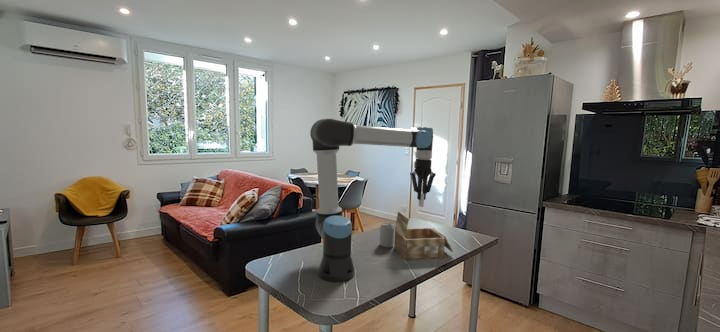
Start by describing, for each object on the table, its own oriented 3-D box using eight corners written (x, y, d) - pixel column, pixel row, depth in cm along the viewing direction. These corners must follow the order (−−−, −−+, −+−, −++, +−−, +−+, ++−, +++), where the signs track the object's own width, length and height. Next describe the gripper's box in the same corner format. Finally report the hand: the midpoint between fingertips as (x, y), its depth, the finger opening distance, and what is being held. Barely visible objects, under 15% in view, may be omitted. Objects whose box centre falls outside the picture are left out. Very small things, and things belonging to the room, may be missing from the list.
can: (392, 248, 166) (393, 226, 164) (378, 247, 167) (379, 224, 166) (394, 244, 173) (395, 222, 172) (380, 242, 174) (381, 221, 173)
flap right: (453, 251, 157) (452, 252, 157) (440, 242, 171) (439, 242, 171) (445, 236, 155) (444, 237, 155) (432, 228, 169) (432, 228, 169)
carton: (405, 260, 150) (406, 240, 149) (393, 247, 167) (394, 229, 166) (444, 258, 155) (445, 238, 154) (429, 246, 171) (430, 227, 170)
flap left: (404, 237, 151) (403, 237, 151) (395, 228, 165) (394, 228, 164) (408, 218, 150) (407, 218, 150) (399, 211, 164) (398, 211, 164)
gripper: (414, 159, 151) (411, 208, 154) (439, 159, 154) (436, 207, 156) (408, 157, 158) (405, 204, 161) (432, 158, 161) (429, 204, 164)
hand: (420, 206), depth 159 cm, fingers closed
